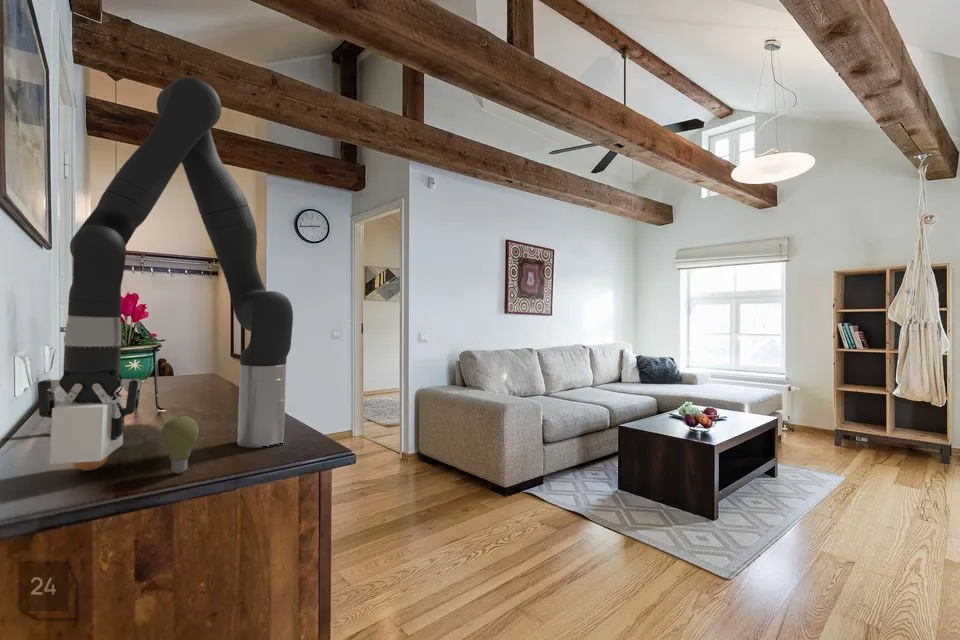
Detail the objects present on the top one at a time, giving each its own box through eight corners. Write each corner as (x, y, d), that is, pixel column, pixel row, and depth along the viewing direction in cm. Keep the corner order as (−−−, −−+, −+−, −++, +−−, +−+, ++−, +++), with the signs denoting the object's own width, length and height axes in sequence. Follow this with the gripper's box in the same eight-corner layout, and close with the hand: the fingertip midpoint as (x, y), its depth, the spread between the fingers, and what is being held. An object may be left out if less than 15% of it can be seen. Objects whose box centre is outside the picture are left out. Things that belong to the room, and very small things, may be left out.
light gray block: (122, 444, 87) (124, 396, 87) (100, 461, 77) (103, 407, 77) (77, 446, 85) (80, 397, 85) (49, 464, 75) (52, 408, 75)
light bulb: (174, 467, 85) (176, 412, 85) (204, 469, 85) (206, 413, 85) (151, 477, 80) (153, 418, 80) (184, 479, 80) (186, 420, 80)
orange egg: (97, 461, 80) (105, 475, 83) (109, 435, 84) (116, 450, 87) (62, 461, 79) (71, 476, 82) (75, 435, 82) (83, 450, 85)
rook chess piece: (57, 436, 103) (58, 399, 103) (40, 434, 104) (42, 398, 104) (78, 431, 108) (79, 396, 108) (62, 430, 108) (63, 395, 108)
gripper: (149, 343, 87) (145, 433, 87) (50, 341, 82) (46, 437, 82) (137, 345, 80) (132, 443, 80) (28, 343, 75) (23, 448, 75)
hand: (89, 440), depth 81 cm, fingers closed on light gray block, 6 cm apart
